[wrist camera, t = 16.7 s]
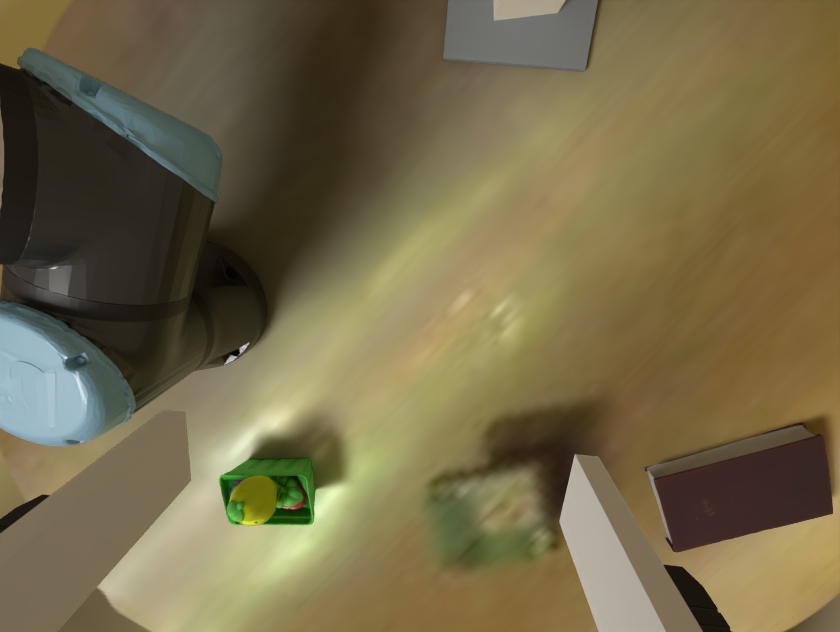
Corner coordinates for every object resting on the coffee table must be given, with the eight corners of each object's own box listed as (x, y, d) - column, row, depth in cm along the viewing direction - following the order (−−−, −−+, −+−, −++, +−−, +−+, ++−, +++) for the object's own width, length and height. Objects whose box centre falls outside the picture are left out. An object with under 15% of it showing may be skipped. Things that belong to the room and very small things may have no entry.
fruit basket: (246, 498, 57) (201, 568, 47) (235, 443, 55) (184, 504, 44) (325, 497, 57) (298, 568, 46) (317, 441, 54) (286, 502, 43)
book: (814, 499, 53) (837, 518, 50) (664, 538, 56) (677, 558, 53) (799, 419, 50) (823, 434, 47) (642, 464, 53) (654, 481, 50)
